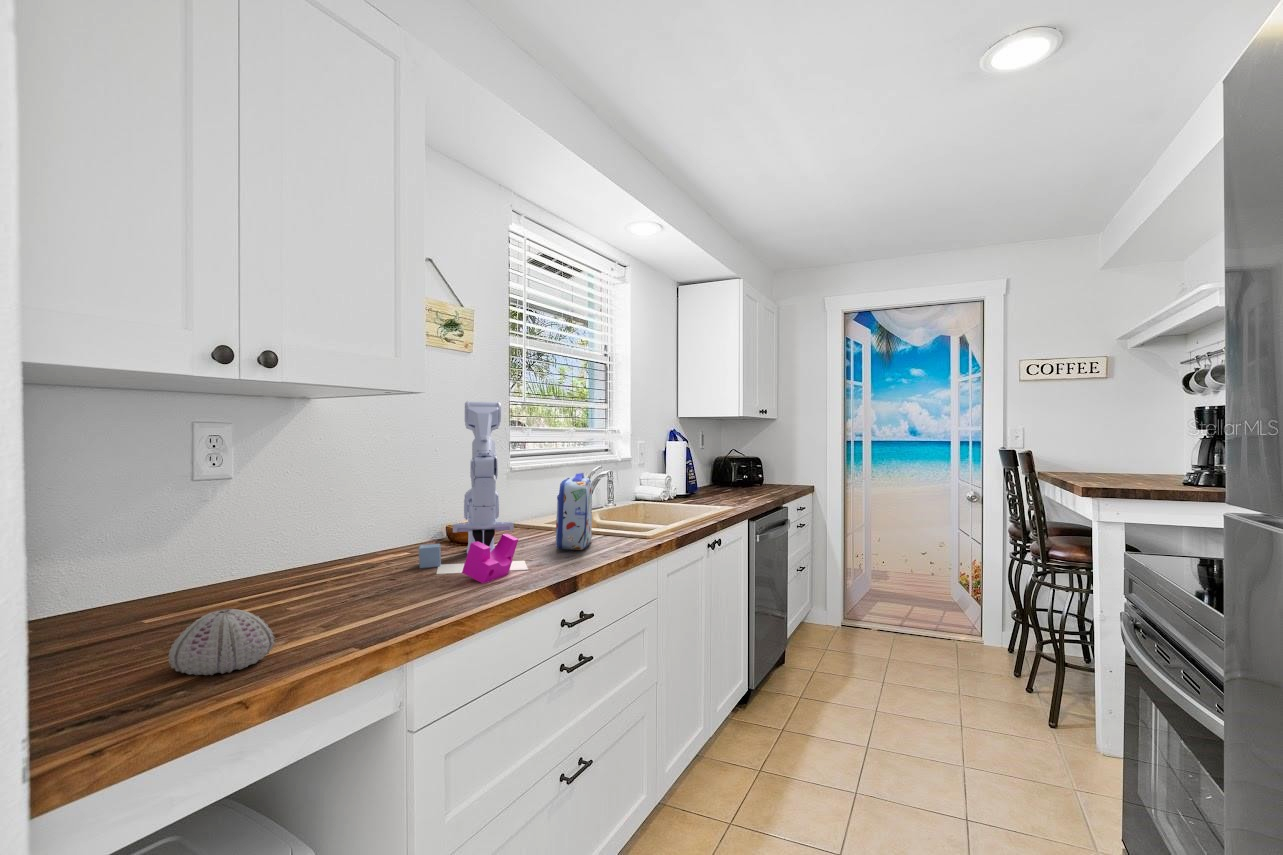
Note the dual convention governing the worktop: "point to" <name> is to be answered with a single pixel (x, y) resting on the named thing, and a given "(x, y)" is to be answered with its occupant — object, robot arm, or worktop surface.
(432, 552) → the blue cube
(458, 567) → the letter board
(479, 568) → the toy block
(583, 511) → the lunch box
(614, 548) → the worktop surface
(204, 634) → the sea urchin shell
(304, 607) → the worktop surface
